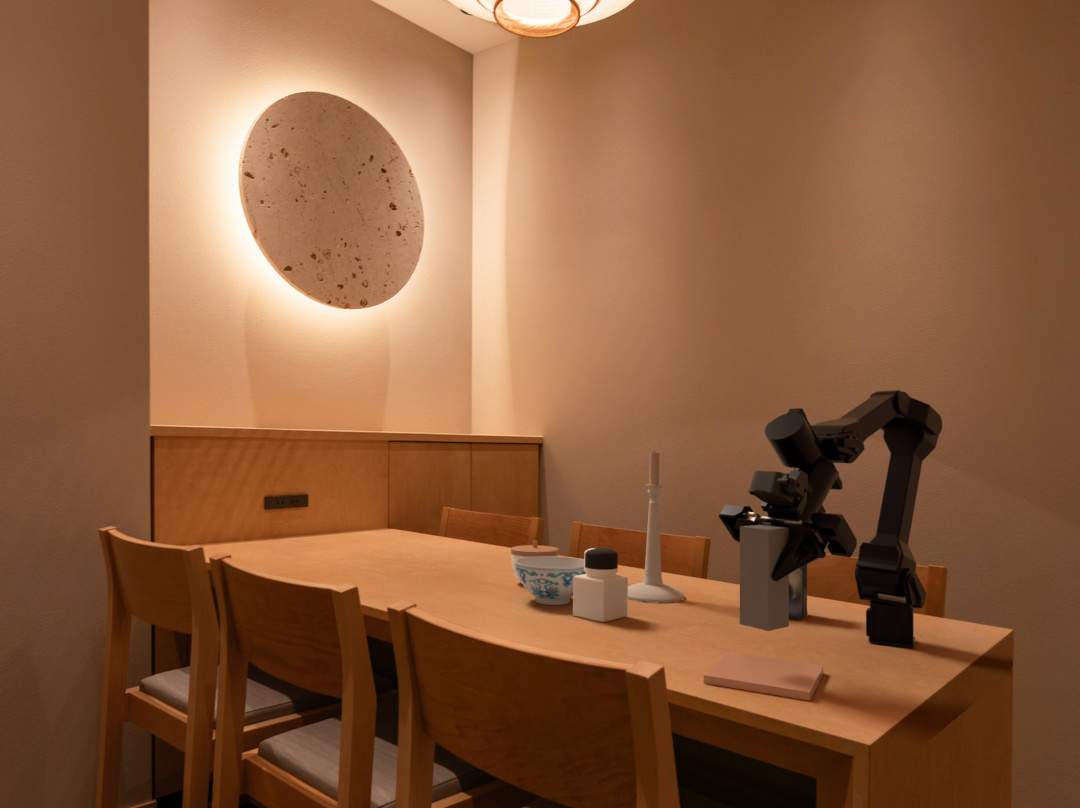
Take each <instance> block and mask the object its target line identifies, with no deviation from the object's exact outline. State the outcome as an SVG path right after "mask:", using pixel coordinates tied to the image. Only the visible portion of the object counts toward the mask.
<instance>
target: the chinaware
mask: <svg viewBox="0 0 1080 808" xmlns="http://www.w3.org/2000/svg"><path fill="white" fill-rule="evenodd" d="M515 565H516V570H517V574H518V577H519V579H520V581H521V583H522V584H523V585H522V584H521V585H522V586H523V588H525V589H526V591H527V592H528V593H530V595H532V596H533V597H535V599H534V600H535V602H536V603H537V604H541V605H548V606H562V605H567V604H569V603H570V602H571V599H570V598H573V579H574V576H576V575H582V574H586V572H585V571H584V558H579V557H570V556H559V555H558V556H536V557H525V558H520V559H517V560H516V561H515ZM520 581H519V582H520Z"/></svg>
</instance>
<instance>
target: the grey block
mask: <svg viewBox="0 0 1080 808" xmlns="http://www.w3.org/2000/svg"><path fill="white" fill-rule="evenodd" d="M788 538H789V528H784V527H775V526H766V525H752V526H740V542H739V625H741V626H745V627H748V628H749V627H750V628H754V629H757V630H762V631H766V632H771V631H775V630H779V629H784V628H788V627H789V626H790V625H789V624H790V622H789V621H790V619H789V574H788V575H787V576H785V577H783V578H782V579H780V580H778V581H774V580H773V578H772V577H771V575H772V572H773V570H774V567H775V565H776V563H777V561H778V559H779V557H780V555H781V554H782V552H783V550H784V548H785V546H786V544H787V542H788Z"/></svg>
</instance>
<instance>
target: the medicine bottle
mask: <svg viewBox="0 0 1080 808" xmlns="http://www.w3.org/2000/svg"><path fill="white" fill-rule="evenodd" d="M583 555H584V557H583V559H584V571H585V572H586V574H582V575H576V576H574V579H573V596H572V615H573V617H576V618H582V619H586V620H590V621H596V622H600V623H605V622H609V621H614V620H618V619H622V618H626V617H628V599H627V595H628V586H629V584H628V582H629V579H628V577H627V576H625V575H619V574H617V573H618V572H619V571H618V569H619V562H618V561H619V560H618V559H619V553H618V552H617V551H616V550H615V549H613V548H612V549H611V548H609V547H608V548H607V547H592V548H589V549H588V548H587V549H586V550H585V551H584V553H583Z"/></svg>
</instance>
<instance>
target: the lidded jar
mask: <svg viewBox="0 0 1080 808" xmlns="http://www.w3.org/2000/svg"><path fill="white" fill-rule="evenodd" d="M510 553H511V555H510V556H511V557H510V560H511V561H510V563H511V569H512V572H513V575H514V576H515V577H516V579H517V580H518V581H519V582H520V583H521V581H520V579H519V577H518V574H517V570H516V565H515V561H516V560H517V559H520V558H525V557H536V556H559V554H560V549H559V548H558V547H556V546H555V547H554V546H550V545H538V540H532V544H531V545H530V544H529V545H517V546H512V547H511V548H510ZM520 585H522V583H521V584H520Z"/></svg>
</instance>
